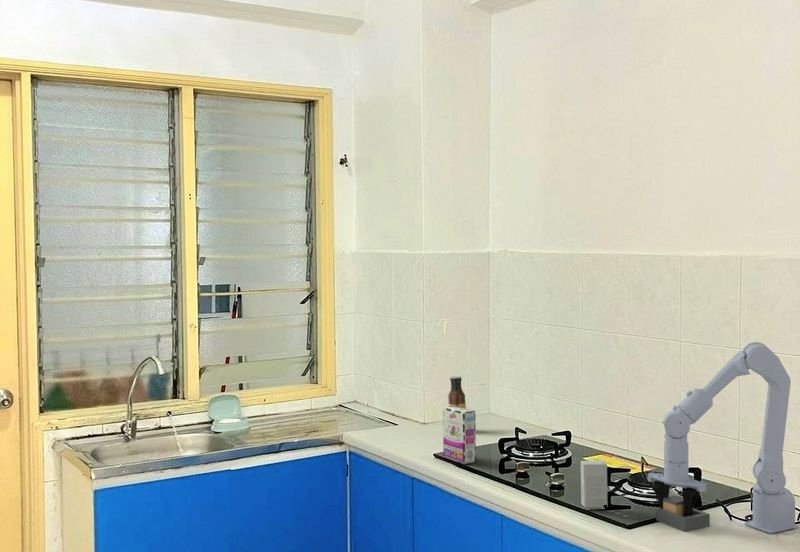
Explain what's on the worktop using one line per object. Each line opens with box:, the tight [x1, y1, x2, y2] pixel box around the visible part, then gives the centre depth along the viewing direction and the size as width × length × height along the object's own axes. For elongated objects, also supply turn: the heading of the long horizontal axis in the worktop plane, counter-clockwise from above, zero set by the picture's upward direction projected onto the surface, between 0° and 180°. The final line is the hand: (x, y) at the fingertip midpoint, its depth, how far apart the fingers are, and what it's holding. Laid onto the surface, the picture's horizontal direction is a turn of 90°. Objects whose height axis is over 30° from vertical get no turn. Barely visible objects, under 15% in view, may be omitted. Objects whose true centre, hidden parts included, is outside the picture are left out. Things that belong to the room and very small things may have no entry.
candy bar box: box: [442, 406, 477, 462], centre depth 282 cm, size 11×5×16 cm, turn 33°
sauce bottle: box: [447, 375, 467, 409], centre depth 323 cm, size 7×6×20 cm
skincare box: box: [580, 459, 608, 508], centre depth 232 cm, size 6×4×12 cm
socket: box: [655, 507, 711, 533], centre depth 220 cm, size 10×12×3 cm
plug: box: [663, 495, 684, 517], centre depth 221 cm, size 4×4×6 cm
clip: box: [669, 487, 683, 497], centre depth 232 cm, size 14×2×4 cm, turn 4°
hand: (676, 515), depth 221 cm, fingers closed on plug, 5 cm apart
